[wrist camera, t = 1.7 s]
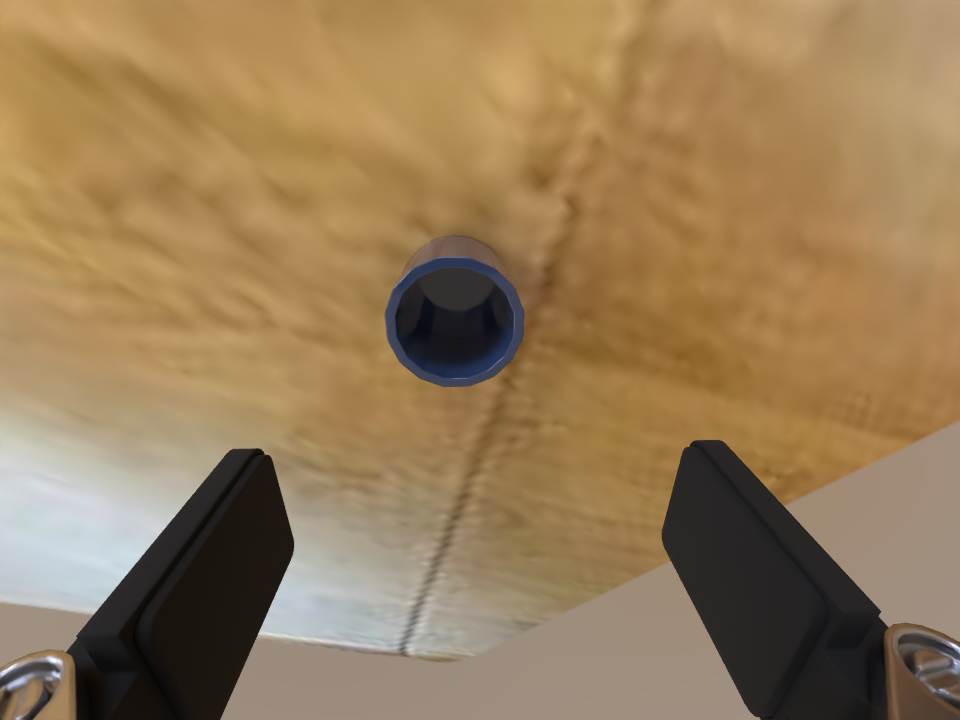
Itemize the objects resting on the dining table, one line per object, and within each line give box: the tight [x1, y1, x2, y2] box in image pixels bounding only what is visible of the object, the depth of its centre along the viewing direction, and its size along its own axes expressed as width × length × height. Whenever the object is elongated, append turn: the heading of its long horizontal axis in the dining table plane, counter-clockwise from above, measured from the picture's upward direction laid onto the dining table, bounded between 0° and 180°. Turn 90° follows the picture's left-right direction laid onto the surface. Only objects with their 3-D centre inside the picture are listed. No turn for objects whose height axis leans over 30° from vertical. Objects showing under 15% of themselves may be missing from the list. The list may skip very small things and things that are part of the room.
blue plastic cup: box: [385, 236, 524, 387], centre depth 22 cm, size 7×7×6 cm
